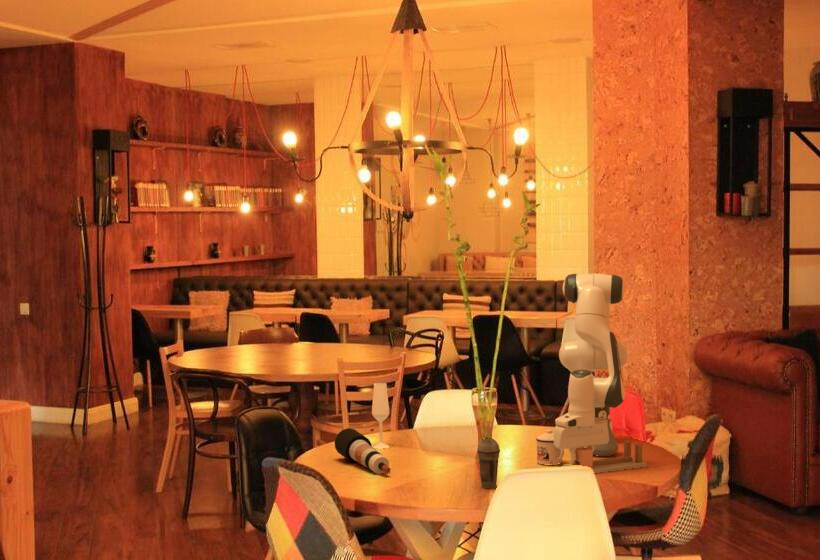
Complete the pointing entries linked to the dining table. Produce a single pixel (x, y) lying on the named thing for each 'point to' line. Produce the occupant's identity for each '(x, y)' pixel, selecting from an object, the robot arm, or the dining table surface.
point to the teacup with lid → (548, 449)
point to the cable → (360, 451)
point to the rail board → (619, 460)
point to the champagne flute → (380, 409)
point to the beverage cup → (488, 461)
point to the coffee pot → (606, 445)
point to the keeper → (584, 456)
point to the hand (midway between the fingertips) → (581, 459)
